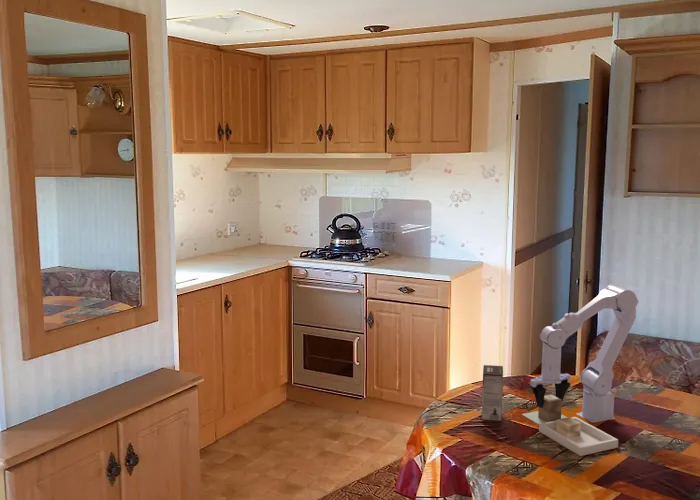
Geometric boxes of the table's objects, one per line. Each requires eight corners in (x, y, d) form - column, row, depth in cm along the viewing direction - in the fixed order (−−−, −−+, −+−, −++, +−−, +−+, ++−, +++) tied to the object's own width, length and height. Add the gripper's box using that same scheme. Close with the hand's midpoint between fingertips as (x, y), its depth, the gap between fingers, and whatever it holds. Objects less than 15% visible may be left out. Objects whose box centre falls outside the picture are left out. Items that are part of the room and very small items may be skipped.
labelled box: (550, 414, 215) (551, 393, 214) (560, 420, 211) (562, 399, 210) (538, 416, 213) (539, 395, 212) (548, 422, 209) (549, 401, 208)
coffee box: (481, 410, 221) (483, 364, 219) (501, 411, 220) (502, 365, 217) (481, 421, 212) (483, 373, 210) (501, 422, 211) (503, 374, 209)
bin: (574, 425, 209) (575, 416, 208) (617, 449, 192) (618, 439, 192) (538, 432, 203) (539, 423, 203) (580, 457, 187) (580, 448, 187)
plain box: (569, 429, 205) (569, 417, 204) (580, 435, 200) (581, 423, 199) (556, 431, 203) (556, 419, 202) (567, 438, 198) (568, 425, 198)
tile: (550, 410, 221) (551, 408, 220) (576, 424, 210) (576, 422, 209) (521, 416, 216) (521, 414, 216) (545, 430, 205) (545, 428, 205)
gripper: (541, 371, 203) (539, 412, 206) (577, 364, 209) (575, 405, 211) (526, 364, 210) (525, 404, 212) (562, 358, 215) (560, 398, 217)
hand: (549, 404), depth 212 cm, fingers open, 7 cm apart
